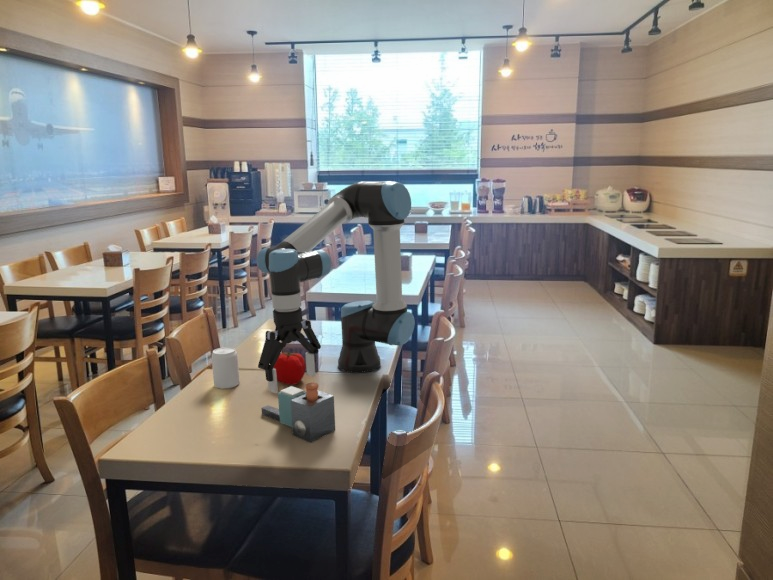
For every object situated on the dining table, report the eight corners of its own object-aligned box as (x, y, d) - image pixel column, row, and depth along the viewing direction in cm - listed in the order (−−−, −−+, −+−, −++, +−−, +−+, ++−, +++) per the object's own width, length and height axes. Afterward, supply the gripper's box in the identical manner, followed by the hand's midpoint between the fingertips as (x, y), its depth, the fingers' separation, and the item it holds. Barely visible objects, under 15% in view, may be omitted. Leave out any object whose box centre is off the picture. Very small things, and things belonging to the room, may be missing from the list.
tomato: (285, 391, 178) (283, 360, 176) (265, 380, 188) (263, 351, 186) (315, 382, 186) (313, 352, 183) (294, 372, 195) (292, 344, 193)
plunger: (313, 401, 151) (312, 381, 150) (321, 404, 149) (320, 384, 147) (303, 405, 148) (302, 385, 147) (312, 408, 146) (311, 388, 145)
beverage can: (244, 383, 186) (242, 348, 183) (227, 391, 179) (224, 355, 176) (226, 379, 190) (223, 345, 187) (208, 387, 183) (205, 352, 180)
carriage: (293, 416, 159) (291, 385, 157) (308, 421, 155) (306, 390, 153) (279, 422, 155) (277, 390, 153) (294, 428, 151) (292, 395, 149)
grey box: (317, 423, 156) (315, 389, 154) (335, 430, 151) (333, 395, 149) (291, 435, 149) (289, 400, 146) (309, 443, 144) (307, 407, 142)
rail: (268, 411, 164) (268, 405, 163) (308, 427, 153) (308, 420, 153) (261, 414, 162) (261, 407, 162) (301, 430, 151) (301, 423, 151)
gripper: (311, 296, 160) (316, 366, 165) (239, 317, 141) (247, 395, 146) (330, 299, 155) (334, 371, 160) (258, 321, 136) (265, 402, 141)
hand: (292, 383), depth 153 cm, fingers open, 13 cm apart
